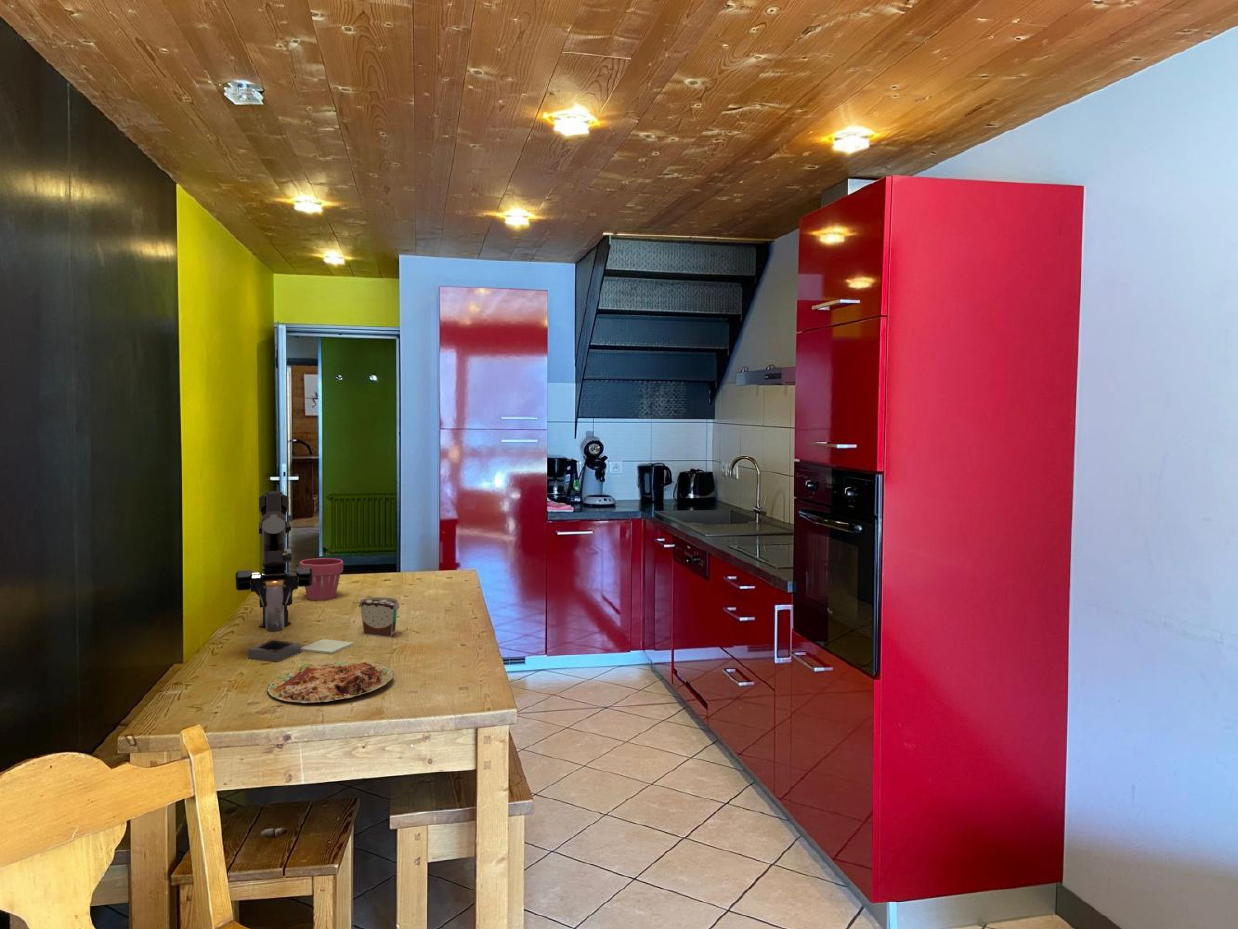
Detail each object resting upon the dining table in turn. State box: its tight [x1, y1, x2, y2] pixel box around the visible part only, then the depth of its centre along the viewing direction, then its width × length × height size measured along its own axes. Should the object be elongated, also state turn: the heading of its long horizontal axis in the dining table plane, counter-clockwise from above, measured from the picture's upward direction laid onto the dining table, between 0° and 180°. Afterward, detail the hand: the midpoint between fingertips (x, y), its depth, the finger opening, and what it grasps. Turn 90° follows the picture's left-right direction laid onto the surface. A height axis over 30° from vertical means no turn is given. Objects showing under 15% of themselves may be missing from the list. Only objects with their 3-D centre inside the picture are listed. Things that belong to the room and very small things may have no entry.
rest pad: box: [301, 638, 355, 655], centre depth 231 cm, size 10×10×1 cm
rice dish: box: [266, 661, 395, 704], centre depth 199 cm, size 28×28×5 cm
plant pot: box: [299, 557, 344, 601], centre depth 292 cm, size 14×14×13 cm
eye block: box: [247, 639, 302, 663], centre depth 223 cm, size 9×9×2 cm
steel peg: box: [265, 579, 285, 633], centre depth 222 cm, size 4×4×13 cm
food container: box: [358, 596, 400, 638], centre depth 246 cm, size 12×6×10 cm, turn 71°
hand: (274, 605), depth 221 cm, fingers closed on steel peg, 4 cm apart
